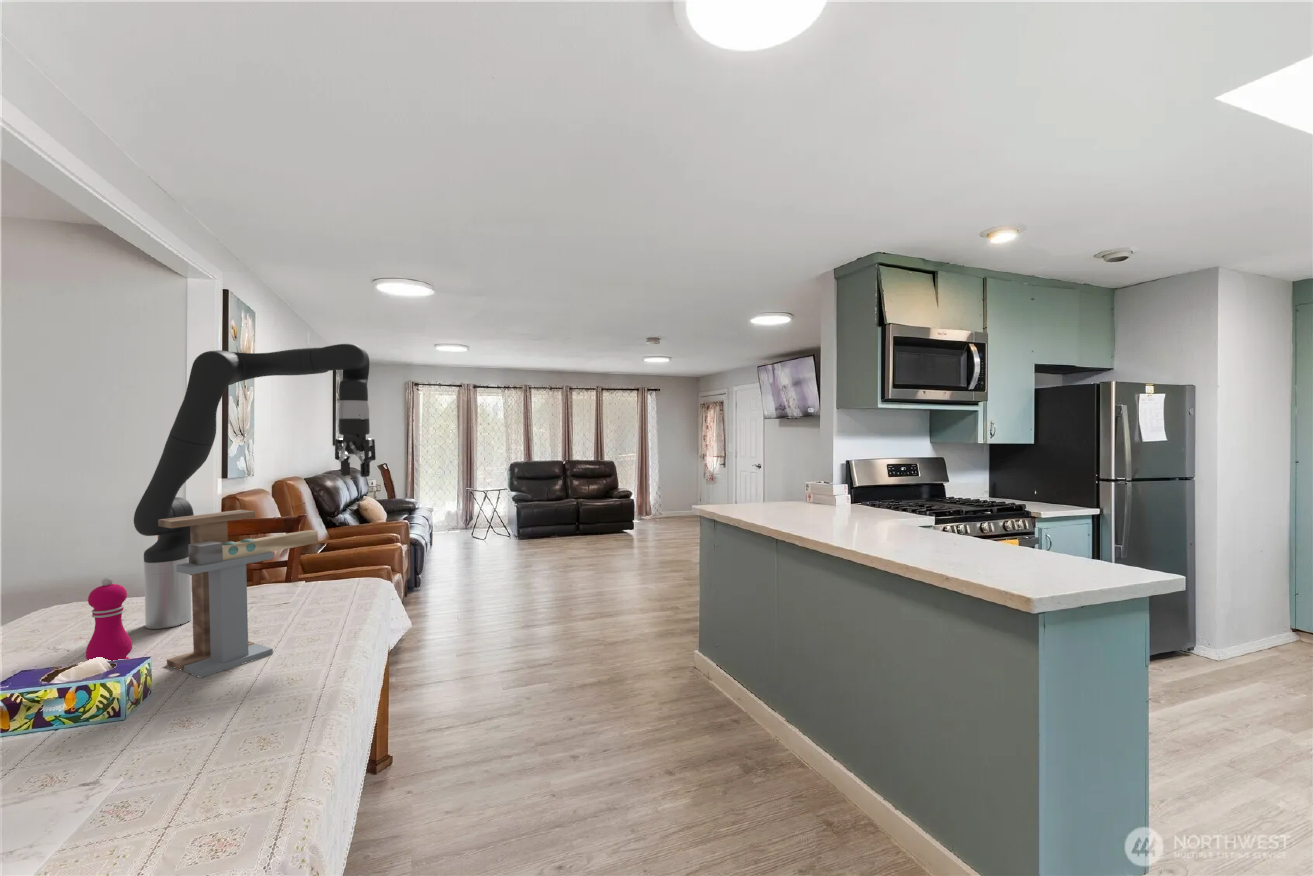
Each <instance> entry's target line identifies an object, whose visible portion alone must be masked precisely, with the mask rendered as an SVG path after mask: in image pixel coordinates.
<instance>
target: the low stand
mask: <svg viewBox="0 0 1313 876" xmlns="http://www.w3.org/2000/svg"><path fill="white" fill-rule="evenodd" d="M272 559H275V551H271V552H266V553H261V554H255V555H250V556H244V557H239V558H234V559H228V560H223V562H217V563H212V564H207V565H201V566H200V565H196V564H191V563H184V564H179V565H176V572H180V573H185V574H189V575H190V576H192V574H197V573H203V572H208V574H209V612H210V649H211V658H207V659H204V660H201V661H198V662H195V663H191V664H188V665H185V666H184V671H185V672H184V671H183V672H184V673H186V672H188V673H187V674H189V673H191V674H193V675H192V676H194V675H195V676H194V677H196V676H199V677H200V679H201V677H202V678H204V677H203V676H205V677H208V676H211V675H214V674H217V673H220V672H222V671H226V670H228V669H232V668H234V666H235V667H238V666H240V664H241V665H243V664H242V663H244V664H246V663H245V662H247V663H250V662H252V661H251V660H253V661H255V660H254V659H256V660H258V659H262V658H264V656H265V657H267V655H268V656H270V655H273V654H274V651H273V648H272V647H269V646H266V645H263V644H259V643H257V642H256V643H255V642H254V643H255V644H252V645H249V646H248V641H249V628H248V627H249V624H248V622H249V621H248V620H249V619H248V586H247V585H248V583H247V580H248V579H247V578H248V577H247V565H248V564H251V563H252V564H253V563H257V562H262V561H267V560H268V561H269V560H272ZM261 657H262V658H261ZM249 661H250V662H249ZM216 672H217V673H216ZM213 673H214V674H213ZM191 674H190V675H191ZM199 677H198V678H199Z"/></svg>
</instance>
